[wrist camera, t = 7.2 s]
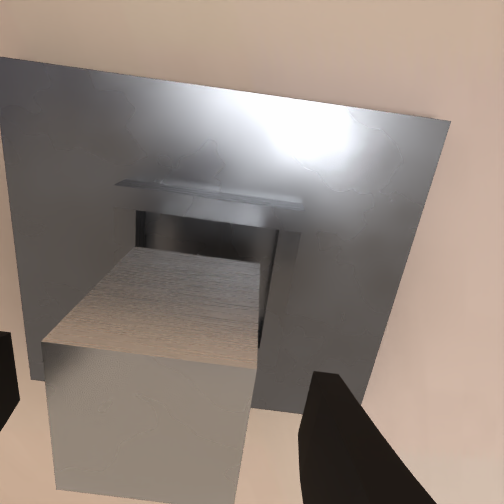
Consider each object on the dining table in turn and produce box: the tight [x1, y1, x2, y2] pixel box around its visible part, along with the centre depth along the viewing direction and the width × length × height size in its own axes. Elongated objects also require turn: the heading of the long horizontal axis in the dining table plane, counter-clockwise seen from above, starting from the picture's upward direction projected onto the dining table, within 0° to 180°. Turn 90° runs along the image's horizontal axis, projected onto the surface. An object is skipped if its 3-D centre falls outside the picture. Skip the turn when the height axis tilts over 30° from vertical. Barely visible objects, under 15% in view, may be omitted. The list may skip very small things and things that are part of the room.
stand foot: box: [0, 57, 451, 414], centre depth 15 cm, size 16×14×2 cm
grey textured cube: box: [41, 247, 260, 504], centre depth 10 cm, size 4×4×5 cm
